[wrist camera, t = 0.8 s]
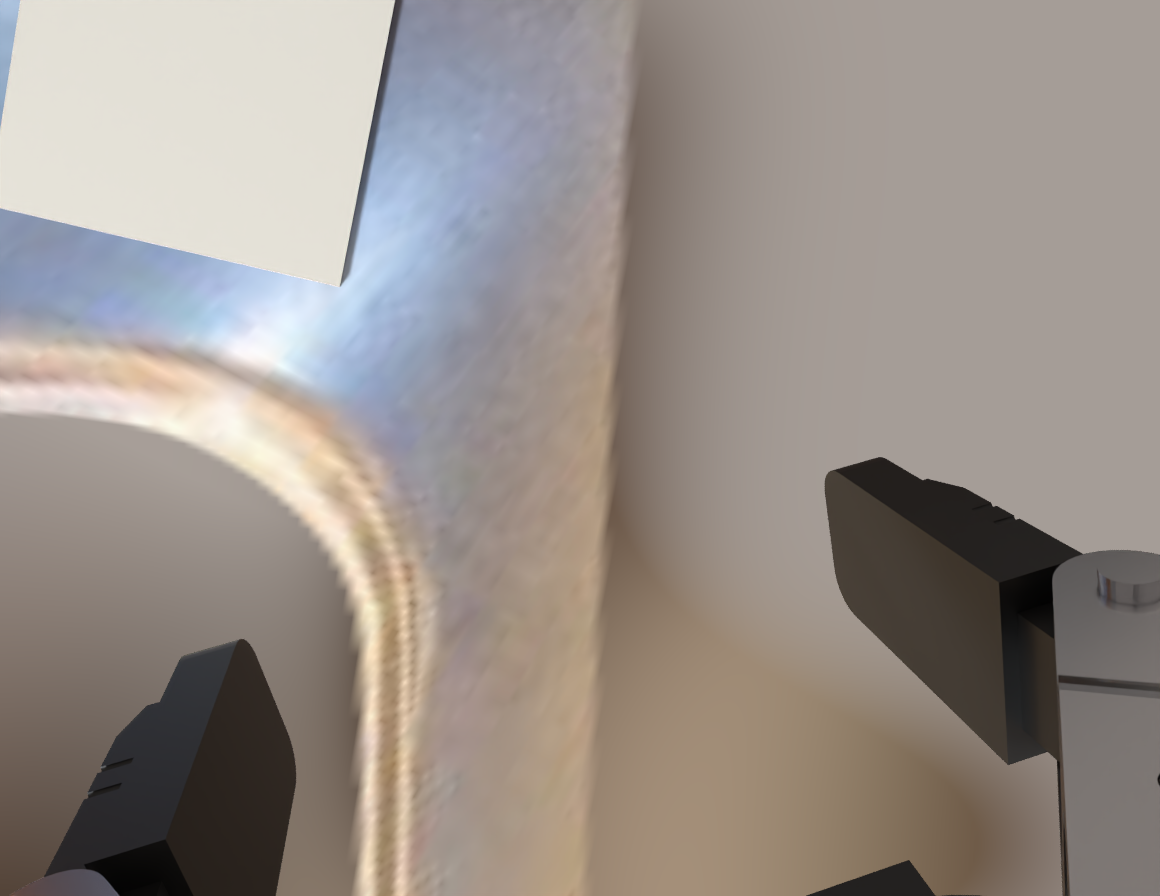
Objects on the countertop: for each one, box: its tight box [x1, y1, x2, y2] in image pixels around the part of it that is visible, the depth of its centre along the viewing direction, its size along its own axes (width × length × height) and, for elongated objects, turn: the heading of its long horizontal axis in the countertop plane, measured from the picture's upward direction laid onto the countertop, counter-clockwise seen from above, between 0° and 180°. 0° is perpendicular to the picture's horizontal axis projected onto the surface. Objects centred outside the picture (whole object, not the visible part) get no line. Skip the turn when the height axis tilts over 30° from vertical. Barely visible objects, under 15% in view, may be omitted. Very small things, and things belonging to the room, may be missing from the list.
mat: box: [0, 0, 395, 287], centre depth 31 cm, size 12×14×1 cm
